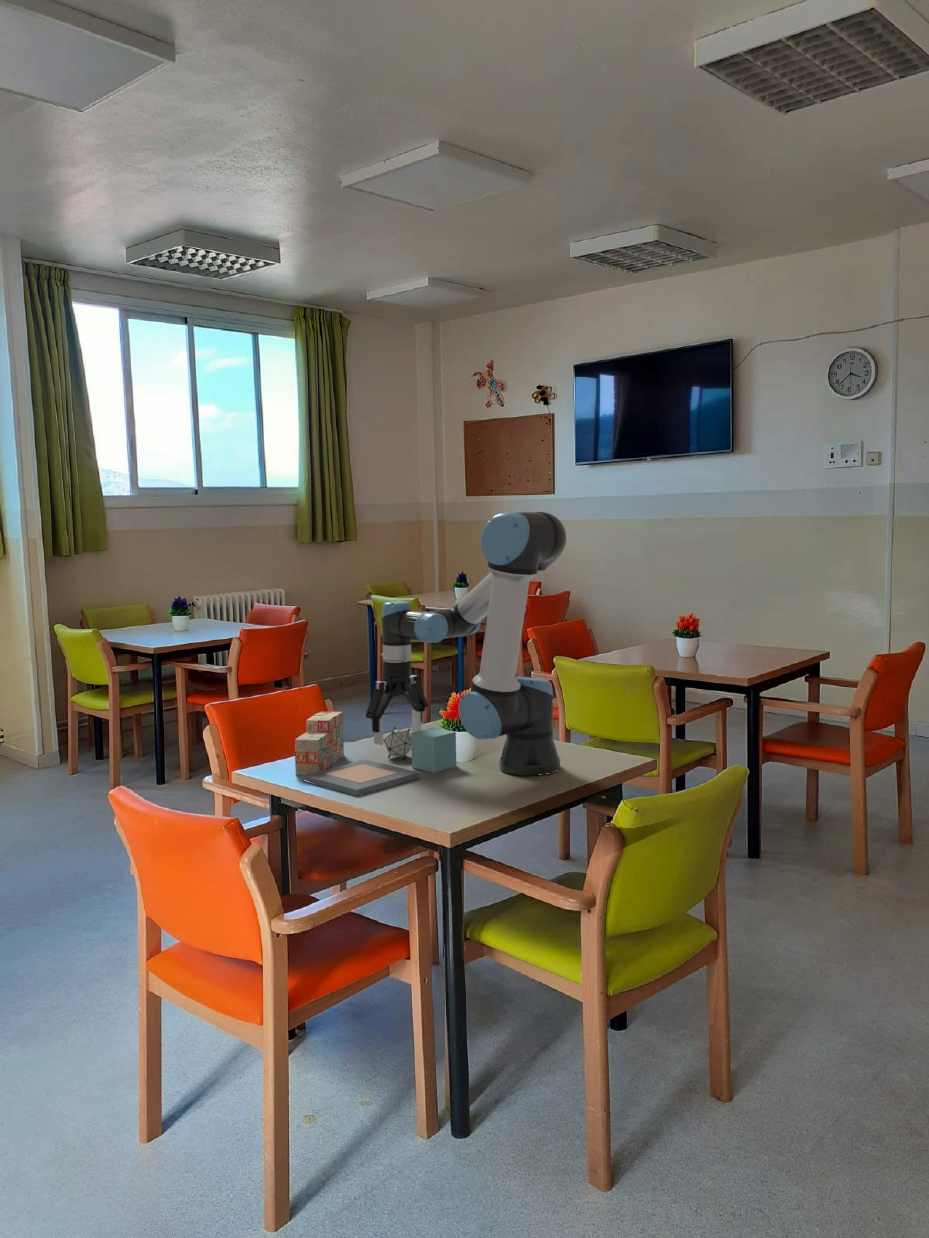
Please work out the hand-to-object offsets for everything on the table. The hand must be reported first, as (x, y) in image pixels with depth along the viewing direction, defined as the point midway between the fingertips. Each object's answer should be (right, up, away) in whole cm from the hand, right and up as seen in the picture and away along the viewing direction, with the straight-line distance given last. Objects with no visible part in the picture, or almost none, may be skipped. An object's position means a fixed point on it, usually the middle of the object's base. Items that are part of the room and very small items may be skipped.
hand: (397, 739), depth 255 cm
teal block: (+10, -6, -10) cm, 15 cm away
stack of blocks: (-20, -6, -6) cm, 21 cm away
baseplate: (-7, -7, -21) cm, 24 cm away
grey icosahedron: (0, -5, 0) cm, 5 cm away
